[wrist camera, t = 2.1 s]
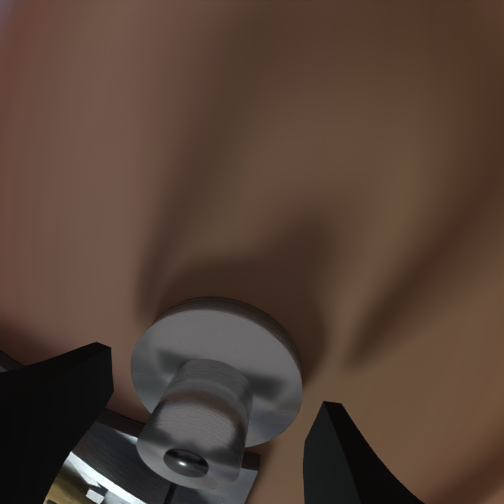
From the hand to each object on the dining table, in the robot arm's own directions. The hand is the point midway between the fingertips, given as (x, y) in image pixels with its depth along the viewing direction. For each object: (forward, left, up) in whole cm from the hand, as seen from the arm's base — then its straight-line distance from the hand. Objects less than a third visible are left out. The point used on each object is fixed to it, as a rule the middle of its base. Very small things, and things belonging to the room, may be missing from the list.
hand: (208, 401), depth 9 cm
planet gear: (0, 0, -2) cm, 2 cm away
